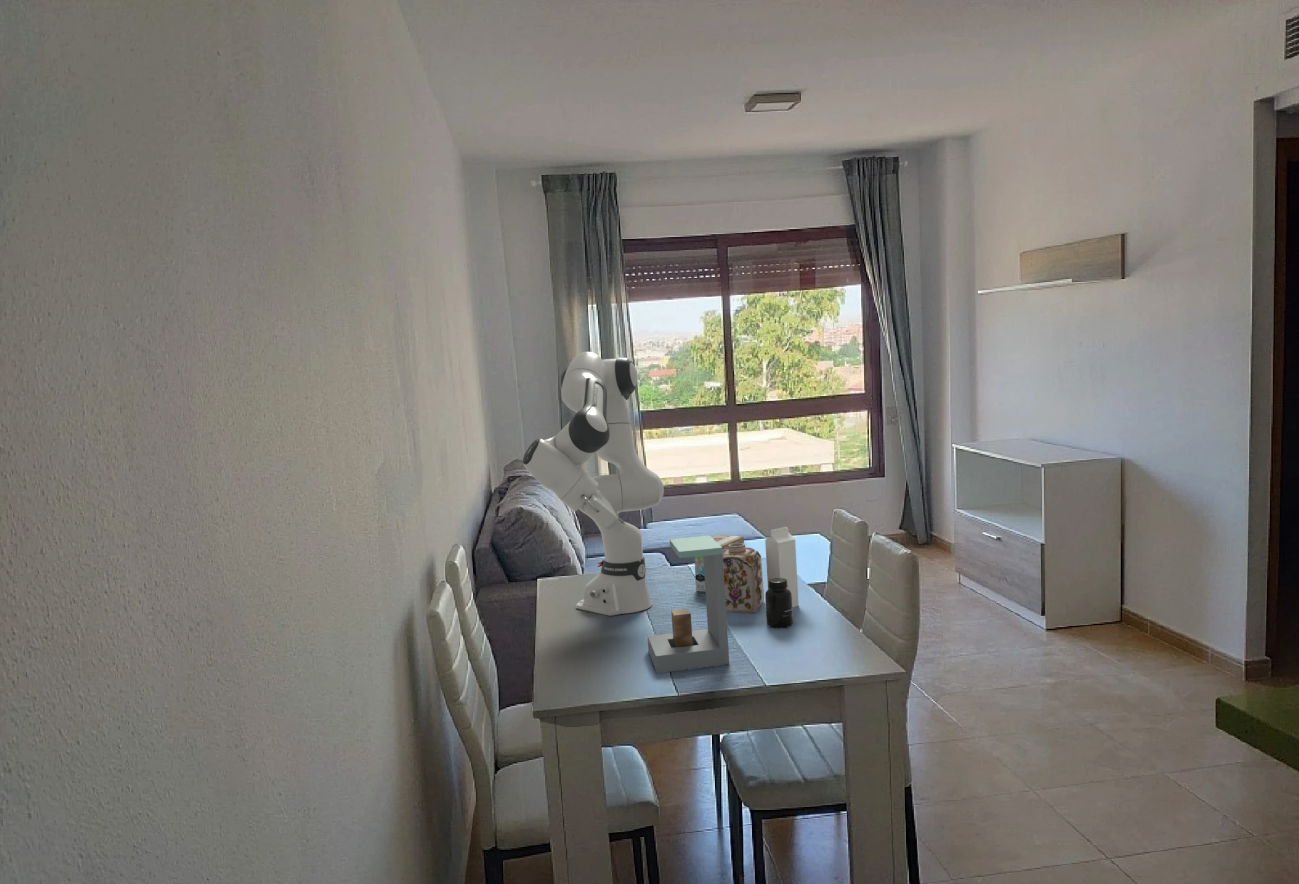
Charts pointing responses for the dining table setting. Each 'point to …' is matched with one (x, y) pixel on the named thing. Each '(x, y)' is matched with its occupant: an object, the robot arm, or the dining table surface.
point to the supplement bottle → (778, 604)
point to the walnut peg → (682, 628)
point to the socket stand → (714, 640)
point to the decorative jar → (742, 579)
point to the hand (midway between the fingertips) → (625, 529)
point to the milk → (782, 560)
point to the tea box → (699, 562)
